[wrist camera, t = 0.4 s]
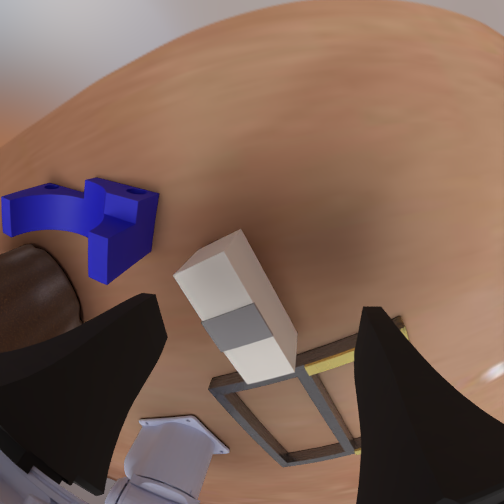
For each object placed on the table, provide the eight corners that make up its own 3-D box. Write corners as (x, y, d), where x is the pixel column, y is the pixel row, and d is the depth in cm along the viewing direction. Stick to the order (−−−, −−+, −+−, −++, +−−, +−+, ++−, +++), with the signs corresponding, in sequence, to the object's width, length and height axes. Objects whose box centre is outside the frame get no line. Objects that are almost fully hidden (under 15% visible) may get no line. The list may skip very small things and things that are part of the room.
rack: (283, 457, 28) (282, 469, 26) (212, 377, 24) (207, 391, 22) (422, 420, 23) (425, 431, 21) (399, 315, 19) (406, 329, 17)
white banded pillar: (256, 345, 22) (246, 386, 18) (198, 249, 20) (171, 276, 16) (298, 331, 21) (295, 373, 17) (242, 227, 19) (223, 251, 15)
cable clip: (160, 193, 19) (109, 212, 14) (152, 250, 21) (106, 285, 15) (52, 166, 20) (1, 177, 14) (49, 213, 22) (3, 232, 16)
